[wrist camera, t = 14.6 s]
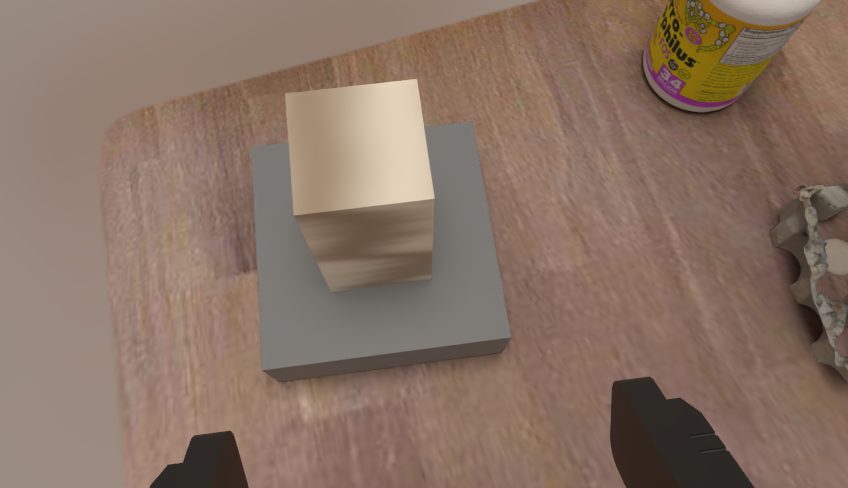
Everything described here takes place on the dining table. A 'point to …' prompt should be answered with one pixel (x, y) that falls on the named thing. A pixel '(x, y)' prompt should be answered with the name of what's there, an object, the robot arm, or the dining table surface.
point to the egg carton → (817, 262)
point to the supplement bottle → (717, 48)
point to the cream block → (362, 183)
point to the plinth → (382, 305)
